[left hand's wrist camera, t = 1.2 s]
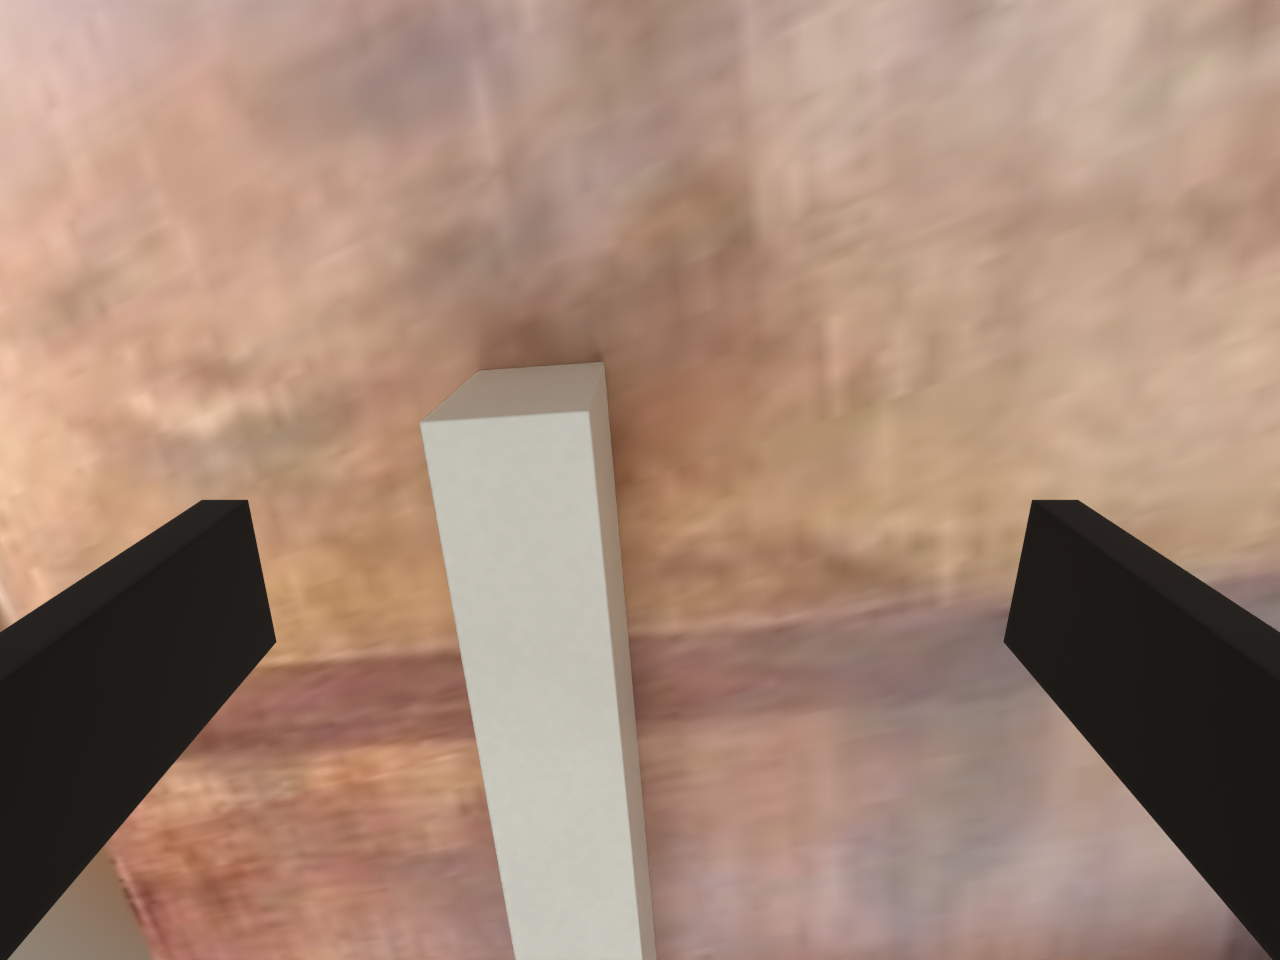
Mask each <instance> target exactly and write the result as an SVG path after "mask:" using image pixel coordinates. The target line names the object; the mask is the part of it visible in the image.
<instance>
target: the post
mask: <svg viewBox="0 0 1280 960" xmlns="http://www.w3.org/2000/svg"><path fill="white" fill-rule="evenodd" d="M420 429H421V435H422V440H423V446H424V451H425V457H426V463H427V468H428V474H429V479H430V485H431V491H432V496H433V502H434V507H435V513H436V519H437V524H438V530H439V535H440V541H441V546H442V552H443V558H444V563H445V569H446V574H447V580H448V586H449V591H450V597H451V602H452V608H453V614H454V619H455V625H456V630H457V636H458V642H459V647H460V653H461V658H462V664H463V670H464V675H465V681H466V686H467V692H468V698H469V703H470V709H471V714H472V720H473V726H474V731H475V737H476V742H477V748H478V754H479V759H480V765H481V770H482V776H483V781H484V787H485V793H486V798H487V804H488V809H489V815H490V821H491V826H492V832H493V837H494V843H495V849H496V854H497V860H498V865H499V871H500V877H501V882H502V888H503V893H504V899H505V905H506V910H507V916H508V921H509V927H510V933H511V938H512V944H513V949H514V955H515V960H657V956H656V945H655V933H654V922H653V911H652V899H651V888H650V877H649V865H648V854H647V842H646V831H645V820H644V808H643V797H642V786H641V774H640V763H639V752H638V740H637V729H636V718H635V706H634V695H633V684H632V672H631V661H630V650H629V638H628V627H627V616H626V604H625V593H624V582H623V570H622V559H621V548H620V536H619V525H618V513H617V502H616V491H615V479H614V468H613V457H612V445H611V434H610V423H609V411H608V400H607V389H606V377H605V366H604V362H593V363H579V364H565V365H550V366H536V367H522V368H507V369H493V370H479V371H477V372H476V373H475V374H474V375H473V376H471V377H470V378H469V379H468V380H467V381H466V382H465V383H464V384H462V385H461V386H460V387H459V388H458V389H457V390H456V391H455V392H453V393H452V394H451V395H450V396H449V397H448V398H447V399H445V400H444V401H443V402H442V403H441V404H440V405H439V406H438V407H436V408H435V409H434V410H433V411H432V412H431V413H430V414H429V415H427V416H426V417H425V418H424V419H423V420H422V421H421V422H420Z"/></svg>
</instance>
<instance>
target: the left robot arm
mask: <svg viewBox="0 0 1280 960" xmlns="http://www.w3.org/2000/svg"><path fill="white" fill-rule="evenodd" d="M275 643H276V638H275V633H274V628H273V623H272V618H271V613H270V608H269V603H268V598H267V593H266V588H265V583H264V578H263V573H262V568H261V563H260V558H259V553H258V548H257V543H256V538H255V533H254V528H253V523H252V518H251V513H250V508H249V503H248V500H201V501H200V502H198V503H197V504H195V505H194V506H192V507H191V508H189V509H188V510H186V511H185V512H183V513H181V514H180V515H178V516H177V517H175V518H174V519H172V520H171V521H169V522H168V523H166V524H165V525H163V526H162V527H160V528H159V529H157V530H156V531H154V532H153V533H151V534H149V535H148V536H146V537H145V538H143V539H142V540H140V541H139V542H137V543H136V544H134V545H133V546H131V547H130V548H128V549H127V550H125V551H124V552H122V553H121V554H119V555H117V556H116V557H114V558H113V559H111V560H110V561H108V562H107V563H105V564H104V565H102V566H101V567H99V568H98V569H96V570H95V571H93V572H92V573H90V574H89V575H87V576H85V577H84V578H82V579H81V580H79V581H78V582H76V583H75V584H73V585H72V586H70V587H69V588H67V589H66V590H64V591H63V592H61V593H60V594H58V595H57V596H55V597H53V598H52V599H50V600H49V601H47V602H46V603H44V604H43V605H41V606H40V607H38V608H37V609H35V610H34V611H32V612H31V613H29V614H28V615H26V616H25V617H23V618H21V619H20V620H18V621H17V622H15V623H14V624H12V625H11V626H9V627H8V628H6V629H5V630H3V631H2V632H0V960H7V959H8V958H9V957H10V956H11V955H12V953H13V952H14V951H15V950H16V949H17V947H18V946H19V945H20V944H21V943H22V942H23V940H24V939H25V938H26V937H27V936H28V934H29V933H30V932H31V931H32V930H33V929H34V927H35V926H36V925H37V924H38V923H39V922H40V920H41V919H42V918H43V917H44V916H45V914H46V913H47V912H48V911H49V910H50V909H51V907H52V906H53V905H54V904H55V903H56V901H57V900H58V899H59V898H60V897H61V895H62V894H63V893H64V892H65V891H66V890H67V888H68V887H69V886H70V885H71V884H72V882H73V881H74V880H75V879H76V878H77V877H78V875H79V874H80V873H81V872H82V871H83V870H84V868H85V867H86V866H87V865H88V864H89V862H90V861H91V860H92V859H93V858H94V857H95V855H96V854H97V853H98V852H99V851H100V849H101V848H102V847H103V846H104V845H105V844H106V842H107V841H108V840H109V839H110V838H111V837H112V835H113V834H114V833H115V832H116V831H117V829H118V828H119V827H120V826H121V825H122V824H123V822H124V821H125V820H126V819H127V818H128V816H129V815H130V814H131V813H132V812H133V811H134V809H135V808H136V807H137V806H138V805H139V803H140V802H141V801H142V800H143V799H144V798H145V796H146V795H147V794H148V793H149V792H150V790H151V789H152V788H153V787H154V786H155V785H156V783H157V782H158V781H159V780H160V779H161V777H162V776H163V775H164V774H165V773H166V772H167V770H168V769H169V768H170V767H171V766H172V764H173V763H174V762H175V761H176V760H177V759H178V757H179V756H180V755H181V754H182V753H183V752H184V750H185V749H186V748H187V747H188V746H189V744H190V743H191V742H192V741H193V740H194V739H195V737H196V736H197V735H198V734H199V733H200V731H201V730H202V729H203V728H204V727H205V726H206V724H207V723H208V722H209V721H210V720H211V718H212V717H213V716H214V715H215V714H216V713H217V711H218V710H219V709H220V708H221V707H222V705H223V704H224V703H225V702H226V701H227V700H228V698H229V697H230V696H231V695H232V694H233V692H234V691H235V690H236V689H237V688H238V687H239V685H240V684H241V683H242V682H243V681H244V679H245V678H246V677H247V676H248V675H249V674H250V672H251V671H252V670H253V669H254V668H255V667H256V665H257V664H258V663H259V662H260V661H261V659H262V658H263V657H264V656H265V655H266V654H267V652H268V651H269V650H270V649H271V648H272V646H273V645H274V644H275ZM1004 643H1005V644H1006V645H1007V646H1008V648H1009V649H1010V650H1011V651H1012V652H1013V654H1014V655H1015V656H1016V657H1017V658H1018V659H1019V661H1020V662H1021V663H1022V664H1023V665H1024V667H1025V668H1026V669H1027V670H1028V671H1029V672H1030V674H1031V675H1032V676H1033V677H1034V678H1035V679H1036V681H1037V682H1038V683H1039V684H1040V685H1041V687H1042V688H1043V689H1044V690H1045V691H1046V692H1047V694H1048V695H1049V696H1050V697H1051V698H1052V700H1053V701H1054V702H1055V703H1056V704H1057V705H1058V707H1059V708H1060V709H1061V710H1062V711H1063V713H1064V714H1065V715H1066V716H1067V717H1068V718H1069V720H1070V721H1071V722H1072V723H1073V724H1074V726H1075V727H1076V728H1077V729H1078V730H1079V731H1080V733H1081V734H1082V735H1083V736H1084V737H1085V739H1086V740H1087V741H1088V742H1089V743H1090V744H1091V746H1092V747H1093V748H1094V749H1095V750H1096V752H1097V753H1098V754H1099V755H1100V756H1101V757H1102V759H1103V760H1104V761H1105V762H1106V763H1107V764H1108V766H1109V767H1110V768H1111V769H1112V770H1113V772H1114V773H1115V774H1116V775H1117V776H1118V777H1119V779H1120V780H1121V781H1122V782H1123V783H1124V785H1125V786H1126V787H1127V788H1128V789H1129V790H1130V792H1131V793H1132V794H1133V795H1134V796H1135V798H1136V799H1137V800H1138V801H1139V802H1140V803H1141V805H1142V806H1143V807H1144V808H1145V809H1146V811H1147V812H1148V813H1149V814H1150V815H1151V816H1152V818H1153V819H1154V820H1155V821H1156V822H1157V824H1158V825H1159V826H1160V827H1161V828H1162V829H1163V831H1164V832H1165V833H1166V834H1167V835H1168V837H1169V838H1170V839H1171V840H1172V841H1173V842H1174V844H1175V845H1176V846H1177V847H1178V848H1179V850H1180V851H1181V852H1182V853H1183V854H1184V855H1185V857H1186V858H1187V859H1188V860H1189V861H1190V862H1191V864H1192V865H1193V866H1194V867H1195V868H1196V870H1197V871H1198V872H1199V873H1200V874H1201V875H1202V877H1203V878H1204V879H1205V880H1206V881H1207V883H1208V884H1209V885H1210V886H1211V887H1212V888H1213V890H1214V891H1215V892H1216V893H1217V894H1218V896H1219V897H1220V898H1221V899H1222V900H1223V901H1224V903H1225V904H1226V905H1227V906H1228V907H1229V909H1230V910H1231V911H1232V912H1233V913H1234V914H1235V916H1236V917H1237V918H1238V919H1239V920H1240V922H1241V923H1242V924H1243V925H1244V926H1245V927H1246V929H1247V930H1248V931H1249V932H1250V933H1251V935H1252V936H1253V937H1254V938H1255V939H1256V940H1257V942H1258V943H1259V944H1260V945H1261V946H1262V947H1263V949H1264V950H1265V951H1266V952H1267V953H1268V955H1269V956H1270V957H1271V958H1272V959H1273V960H1280V632H1278V631H1277V630H1275V629H1274V628H1272V627H1271V626H1269V625H1268V624H1266V623H1265V622H1263V621H1262V620H1260V619H1259V618H1257V617H1255V616H1254V615H1252V614H1251V613H1249V612H1248V611H1246V610H1245V609H1243V608H1242V607H1240V606H1239V605H1237V604H1236V603H1234V602H1233V601H1231V600H1230V599H1228V598H1227V597H1225V596H1223V595H1222V594H1220V593H1219V592H1217V591H1216V590H1214V589H1213V588H1211V587H1210V586H1208V585H1207V584H1205V583H1204V582H1202V581H1201V580H1199V579H1198V578H1196V577H1195V576H1193V575H1191V574H1190V573H1188V572H1187V571H1185V570H1184V569H1182V568H1181V567H1179V566H1178V565H1176V564H1175V563H1173V562H1172V561H1170V560H1169V559H1167V558H1166V557H1164V556H1163V555H1161V554H1159V553H1158V552H1156V551H1155V550H1153V549H1152V548H1150V547H1149V546H1147V545H1146V544H1144V543H1143V542H1141V541H1140V540H1138V539H1137V538H1135V537H1134V536H1132V535H1131V534H1129V533H1127V532H1126V531H1124V530H1123V529H1121V528H1120V527H1118V526H1117V525H1115V524H1114V523H1112V522H1111V521H1109V520H1108V519H1106V518H1105V517H1103V516H1102V515H1100V514H1099V513H1097V512H1095V511H1094V510H1092V509H1091V508H1089V507H1088V506H1086V505H1085V504H1083V503H1082V502H1080V501H1079V500H1032V503H1031V508H1030V513H1029V518H1028V523H1027V528H1026V533H1025V538H1024V543H1023V548H1022V553H1021V558H1020V563H1019V568H1018V573H1017V578H1016V583H1015V588H1014V593H1013V598H1012V603H1011V608H1010V613H1009V618H1008V623H1007V628H1006V633H1005V638H1004Z"/></svg>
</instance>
